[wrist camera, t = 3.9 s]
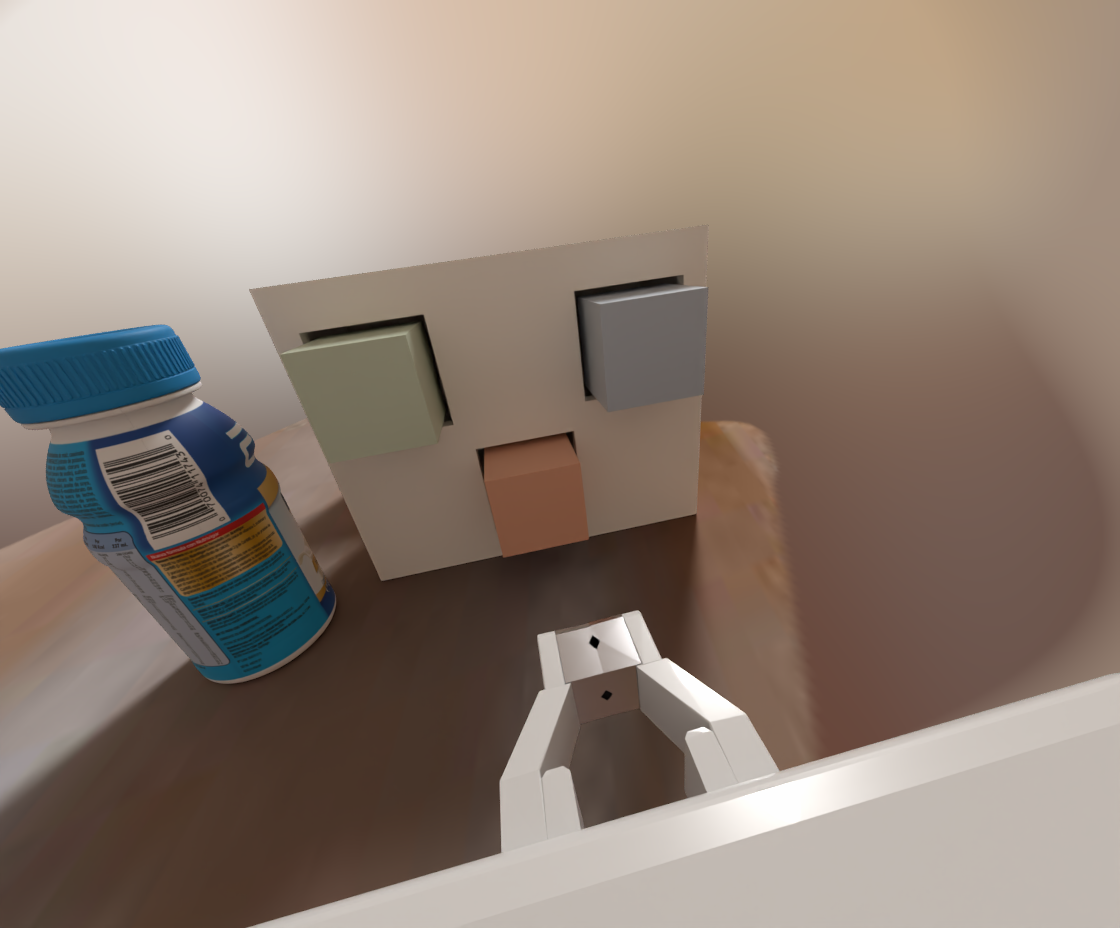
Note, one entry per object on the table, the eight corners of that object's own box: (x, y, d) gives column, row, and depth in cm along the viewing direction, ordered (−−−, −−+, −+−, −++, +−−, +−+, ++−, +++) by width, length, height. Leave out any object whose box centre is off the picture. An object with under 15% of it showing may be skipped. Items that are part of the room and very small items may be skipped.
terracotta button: (503, 557, 27) (484, 481, 24) (500, 509, 32) (484, 443, 29) (589, 539, 27) (580, 463, 25) (572, 495, 33) (563, 428, 30)
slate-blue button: (607, 412, 23) (599, 304, 21) (585, 385, 29) (576, 296, 26) (703, 394, 24) (708, 287, 21) (663, 371, 29) (663, 283, 26)
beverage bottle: (166, 698, 24) (-152, 372, 15) (256, 593, 31) (84, 334, 22) (302, 682, 24) (66, 341, 14) (360, 580, 31) (230, 313, 22)
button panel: (381, 581, 31) (249, 289, 21) (405, 508, 40) (320, 282, 30) (696, 513, 33) (708, 224, 23) (650, 459, 42) (644, 236, 33)
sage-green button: (328, 463, 22) (279, 354, 19) (359, 425, 27) (323, 335, 24) (437, 443, 22) (405, 334, 20) (446, 409, 28) (422, 320, 25)
